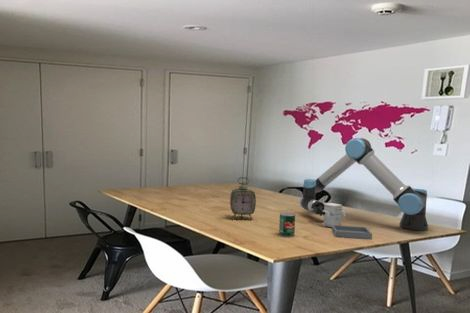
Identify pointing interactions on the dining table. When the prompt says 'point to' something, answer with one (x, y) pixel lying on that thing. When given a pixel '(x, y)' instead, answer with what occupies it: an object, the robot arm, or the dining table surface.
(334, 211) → the supplement box
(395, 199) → the robot arm
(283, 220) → the canned tomato
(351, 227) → the gray tray
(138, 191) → the dining table surface
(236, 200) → the tabletop clock
